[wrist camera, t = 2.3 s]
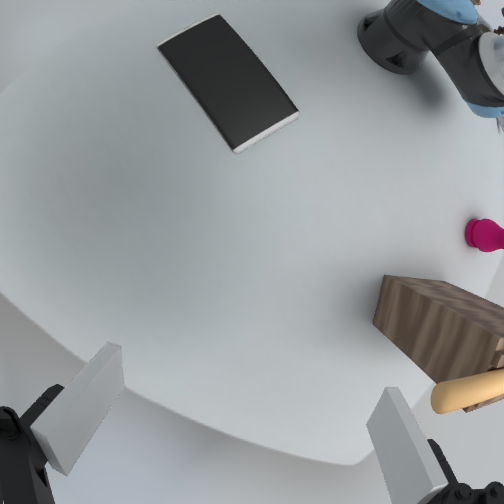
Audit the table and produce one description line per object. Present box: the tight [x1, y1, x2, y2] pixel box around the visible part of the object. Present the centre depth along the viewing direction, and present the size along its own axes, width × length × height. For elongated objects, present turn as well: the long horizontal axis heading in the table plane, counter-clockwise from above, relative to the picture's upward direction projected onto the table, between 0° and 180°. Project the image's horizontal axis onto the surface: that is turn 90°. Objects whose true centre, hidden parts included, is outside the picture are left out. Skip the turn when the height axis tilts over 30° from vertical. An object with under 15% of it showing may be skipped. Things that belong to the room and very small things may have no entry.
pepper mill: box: [466, 219, 504, 252], centre depth 41 cm, size 7×7×20 cm
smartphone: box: [157, 13, 300, 154], centre depth 43 cm, size 13×27×2 cm, turn 34°
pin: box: [431, 368, 504, 414], centre depth 21 cm, size 24×3×3 cm, turn 82°
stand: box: [373, 275, 504, 413], centre depth 36 cm, size 17×10×32 cm, turn 82°
